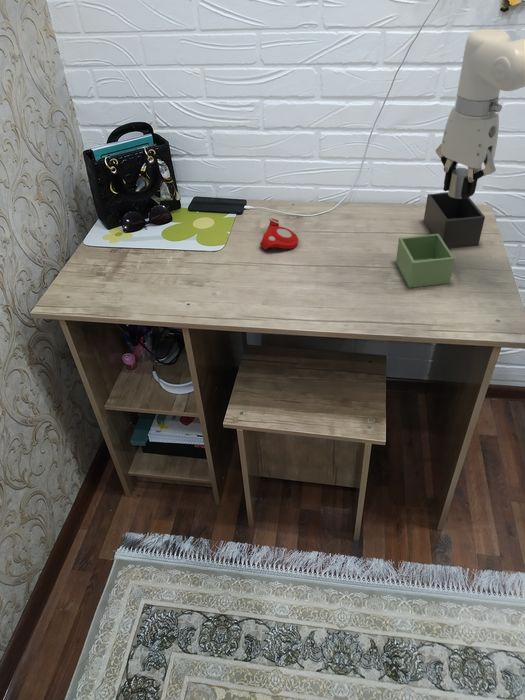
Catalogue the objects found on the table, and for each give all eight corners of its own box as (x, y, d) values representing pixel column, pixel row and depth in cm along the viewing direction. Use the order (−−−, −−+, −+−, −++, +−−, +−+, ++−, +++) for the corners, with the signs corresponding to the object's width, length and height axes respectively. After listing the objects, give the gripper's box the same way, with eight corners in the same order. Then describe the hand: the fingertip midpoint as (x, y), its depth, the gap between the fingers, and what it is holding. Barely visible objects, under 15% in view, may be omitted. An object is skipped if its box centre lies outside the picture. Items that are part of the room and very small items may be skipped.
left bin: (449, 283, 126) (454, 258, 122) (408, 287, 126) (412, 262, 121) (434, 258, 134) (438, 233, 129) (395, 262, 133) (398, 237, 129)
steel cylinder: (470, 197, 120) (475, 175, 116) (452, 199, 119) (456, 177, 116) (463, 189, 122) (467, 166, 119) (445, 190, 122) (449, 168, 119)
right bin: (478, 245, 137) (485, 216, 132) (441, 249, 136) (446, 221, 131) (458, 217, 146) (463, 190, 141) (423, 221, 146) (427, 194, 141)
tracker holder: (307, 238, 141) (278, 246, 134) (301, 253, 144) (273, 261, 137) (276, 211, 146) (247, 217, 140) (271, 225, 149) (242, 232, 142)
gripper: (526, 110, 105) (503, 201, 117) (453, 88, 115) (438, 174, 127) (501, 121, 102) (479, 213, 114) (428, 98, 112) (415, 185, 124)
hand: (458, 192), depth 121 cm, fingers closed on steel cylinder, 4 cm apart
